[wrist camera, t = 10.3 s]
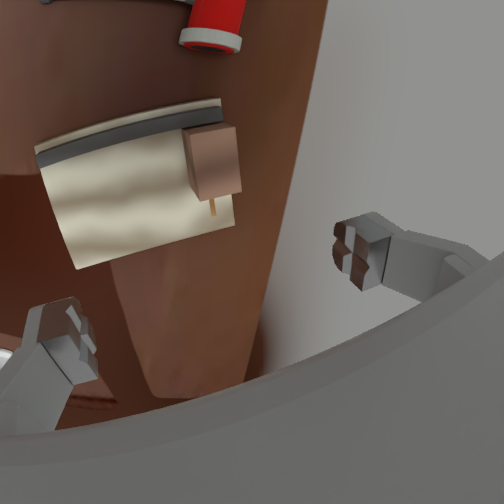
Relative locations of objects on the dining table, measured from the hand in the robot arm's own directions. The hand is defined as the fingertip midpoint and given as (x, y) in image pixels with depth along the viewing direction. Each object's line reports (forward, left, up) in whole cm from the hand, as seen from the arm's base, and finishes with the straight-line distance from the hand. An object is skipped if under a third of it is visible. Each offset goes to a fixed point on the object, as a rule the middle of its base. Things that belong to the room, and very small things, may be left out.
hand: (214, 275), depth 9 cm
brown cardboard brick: (+4, +6, -27) cm, 28 cm away
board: (+6, -2, -29) cm, 30 cm away
